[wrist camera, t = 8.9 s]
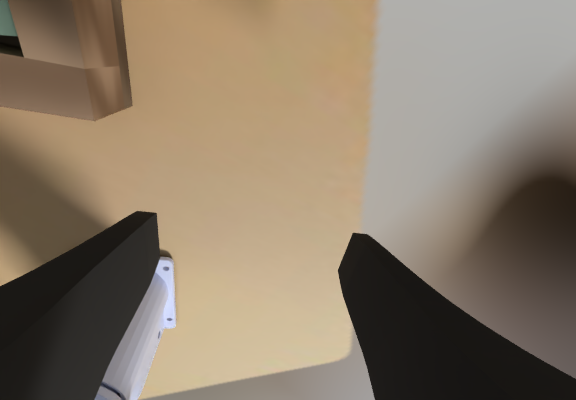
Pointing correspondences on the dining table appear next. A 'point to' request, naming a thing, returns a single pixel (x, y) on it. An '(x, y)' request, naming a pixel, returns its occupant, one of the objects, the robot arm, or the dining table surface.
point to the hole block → (65, 59)
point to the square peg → (6, 20)
